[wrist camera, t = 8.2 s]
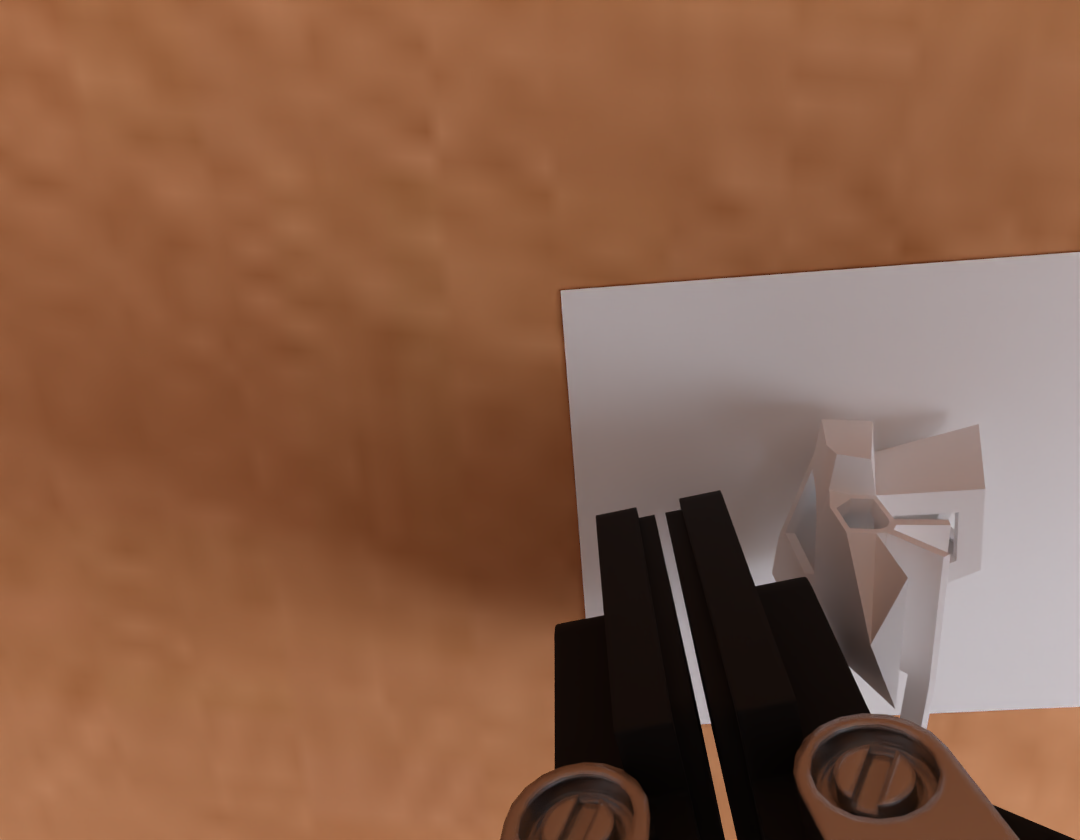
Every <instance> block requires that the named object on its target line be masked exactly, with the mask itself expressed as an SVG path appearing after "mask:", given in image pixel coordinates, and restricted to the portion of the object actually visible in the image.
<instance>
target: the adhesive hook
mask: <svg viewBox="0 0 1080 840" xmlns="http://www.w3.org/2000/svg"><path fill="white" fill-rule="evenodd" d="M985 504H986V481H985V471H984V461H983V451H982V441H981V431H980V424H979V423H976V424H973V425H969V426H965V427H961V428H958V429H954V430H950V431H947V432H943V433H939V434H936V435H932V436H928V437H924V438H921V439H917V440H913V441H910V442H906V443H902V444H899V445H895V446H891V447H888V448H884V449H880V450H876V451H875V436H874V421H873V420H857V419H833V418H821V419H820V424H819V428H818V433H817V438H816V442H815V447H814V452H813V454H812V457H811V459H810V462H809V464H808V466H807V469H806V471H805V473H804V476H803V478H802V480H801V483H800V485H799V487H798V490H797V492H796V494H795V497H794V499H793V501H792V504H791V506H790V509H789V511H788V513H787V516H786V518H785V520H784V523H783V525H782V527H781V530H780V532H779V534H778V538H777V543H776V548H775V554H774V559H773V564H772V569H771V575H772V577H773V579H774V581H775V582H779V581H784V580H789V579H794V578H800V577H806V578H808V580H809V582H810V584H811V586H812V588H813V590H814V592H815V594H816V596H817V599H818V601H819V603H820V605H821V607H822V609H823V612H824V614H825V616H826V618H827V620H828V622H829V625H830V627H831V629H832V631H833V633H834V635H835V638H836V640H837V642H838V644H839V646H840V648H841V651H842V653H843V655H844V657H845V659H846V661H847V664H848V666H849V668H850V670H851V671H853V672H854V673H856V674H857V675H858V676H859V677H860V678H861V679H862V680H863V681H864V682H865V683H866V684H867V685H869V686H870V687H871V688H872V689H873V690H874V691H875V692H876V693H877V694H878V695H879V696H881V697H882V698H883V699H884V700H885V701H886V702H887V703H888V704H889V705H890V706H891V707H892V708H894V709H895V710H896V709H897V699H898V689H899V678H900V671H901V672H903V673H904V674H906V681H905V686H904V692H903V698H902V703H901V709H900V714H899V715H900V718H902V719H906V720H909V721H912V722H913V723H915V724H917V725H919V726H921V727H923V728H925V729H927V724H928V719H929V714H930V713H931V708H932V703H933V698H934V693H935V688H936V682H937V674H938V665H939V657H940V648H941V640H942V631H943V622H944V614H945V605H946V597H947V588H948V584H949V583H951V582H954V581H957V580H959V579H962V578H964V577H967V576H970V575H972V574H975V573H978V572H980V571H981V570H982V559H983V541H984V522H985ZM952 514H954V527H952V524H951V522H950V520H951V517H952Z"/></svg>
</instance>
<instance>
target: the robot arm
mask: <svg viewBox="0 0 1080 840" xmlns="http://www.w3.org/2000/svg"><path fill="white" fill-rule="evenodd" d="M679 502H680V508H681V510H676V511H671V512H666V513H665V514H666V519H667V524H668V529H669V533H670V538H671V542H672V547H673V552H674V556H675V561H676V566H677V570H678V575H679V579H680V584H681V589H682V593H683V598H684V603H685V607H686V612H687V617H688V621H689V626H690V630H691V635H692V640H693V644H694V649H695V654H696V658H697V663H698V668H699V672H700V677H701V681H702V686H703V690H704V695H705V699H706V704H707V708H708V713H709V717H710V721H711V726H712V730H713V735H714V739H715V743H716V748H717V752H718V757H719V761H720V765H721V770H722V774H723V779H724V783H725V787H726V792H727V796H728V801H729V805H730V809H731V814H732V818H733V823H734V827H735V831H736V836H737V840H1075V839H1073V838H1070V837H1068V836H1066V835H1063V834H1061V833H1059V832H1056V831H1054V830H1051V829H1049V828H1047V827H1044V826H1042V825H1039V824H1037V823H1035V822H1032V821H1030V820H1028V819H1025V818H1023V817H1020V816H1018V815H1016V814H1013V813H1011V812H1009V811H1006V810H1004V809H1001V808H999V807H997V806H994V805H992V804H991V802H990V801H989V800H988V798H987V797H986V796H985V795H984V793H983V792H982V791H981V789H980V788H979V787H978V786H977V784H976V783H975V782H974V781H973V779H972V778H971V777H970V775H969V774H968V773H967V772H966V770H965V769H964V768H963V767H962V765H961V764H960V763H959V761H958V760H957V759H956V758H955V756H954V755H953V754H952V752H951V751H950V750H949V749H948V747H947V746H946V745H945V744H943V743H942V742H941V741H940V740H939V739H938V738H937V737H936V736H935V735H934V734H933V733H932V732H930V731H929V730H927V729H925V728H923V727H921V726H919V725H917V724H915V723H913V722H912V721H909V720H906V719H902V718H898V717H894V716H891V715H887V714H870V711H869V709H868V707H867V705H866V703H865V700H864V698H863V696H862V694H861V692H860V690H859V687H858V685H857V683H856V681H855V679H854V677H853V674H852V672H851V670H850V668H849V666H848V664H847V661H846V659H845V657H844V655H843V653H842V651H841V648H840V646H839V644H838V642H837V640H836V638H835V635H834V633H833V631H832V629H831V627H830V625H829V622H828V620H827V618H826V616H825V614H824V612H823V609H822V607H821V605H820V603H819V601H818V599H817V596H816V594H815V592H814V590H813V588H812V586H811V584H810V582H809V580H808V578H806V577H800V578H794V579H789V580H784V581H779V582H774V583H769V584H764V585H758V586H755V584H754V581H753V578H752V575H751V573H750V570H749V567H748V564H747V562H746V559H745V556H744V553H743V551H742V548H741V545H740V542H739V539H738V537H737V534H736V531H735V528H734V526H733V523H732V520H731V517H730V515H729V512H728V509H727V506H726V504H725V501H724V498H723V495H722V493H721V490H718V491H713V492H708V493H703V494H699V495H694V496H689V497H684V498H679ZM596 528H597V540H598V552H599V564H600V575H601V587H602V599H603V610H604V615H602V616H597V617H592V618H587V619H582V620H576V621H571V622H566V623H561V624H557V625H556V626H555V770H553V771H550V772H548V773H546V774H543V775H542V776H540V777H539V778H538V779H536V780H535V781H534V782H532V783H531V784H530V785H528V786H527V787H526V788H525V789H524V790H523V791H522V792H521V794H520V795H519V796H518V797H517V798H516V800H515V801H514V802H513V803H512V805H511V807H510V810H509V812H508V815H507V817H506V819H505V822H504V825H503V830H502V834H501V838H500V840H725V838H724V833H723V828H722V823H721V819H720V814H719V809H718V804H717V800H716V795H715V790H714V785H713V780H712V776H711V771H710V766H709V761H708V757H707V752H706V747H705V742H704V738H703V733H702V728H701V723H700V718H699V714H698V709H697V704H696V699H695V695H694V690H693V686H692V681H691V676H690V672H689V667H688V663H687V658H686V654H685V649H684V645H683V640H682V636H681V631H680V627H679V622H678V618H677V613H676V609H675V604H674V600H673V595H672V590H671V586H670V581H669V577H668V572H667V568H666V563H665V559H664V554H663V550H662V545H661V541H660V536H659V532H658V527H657V523H656V518H655V515H650V516H645V517H640V518H639V516H638V512H637V508H636V507H634V508H629V509H625V510H620V511H615V512H610V513H605V514H600V515H596Z"/></svg>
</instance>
